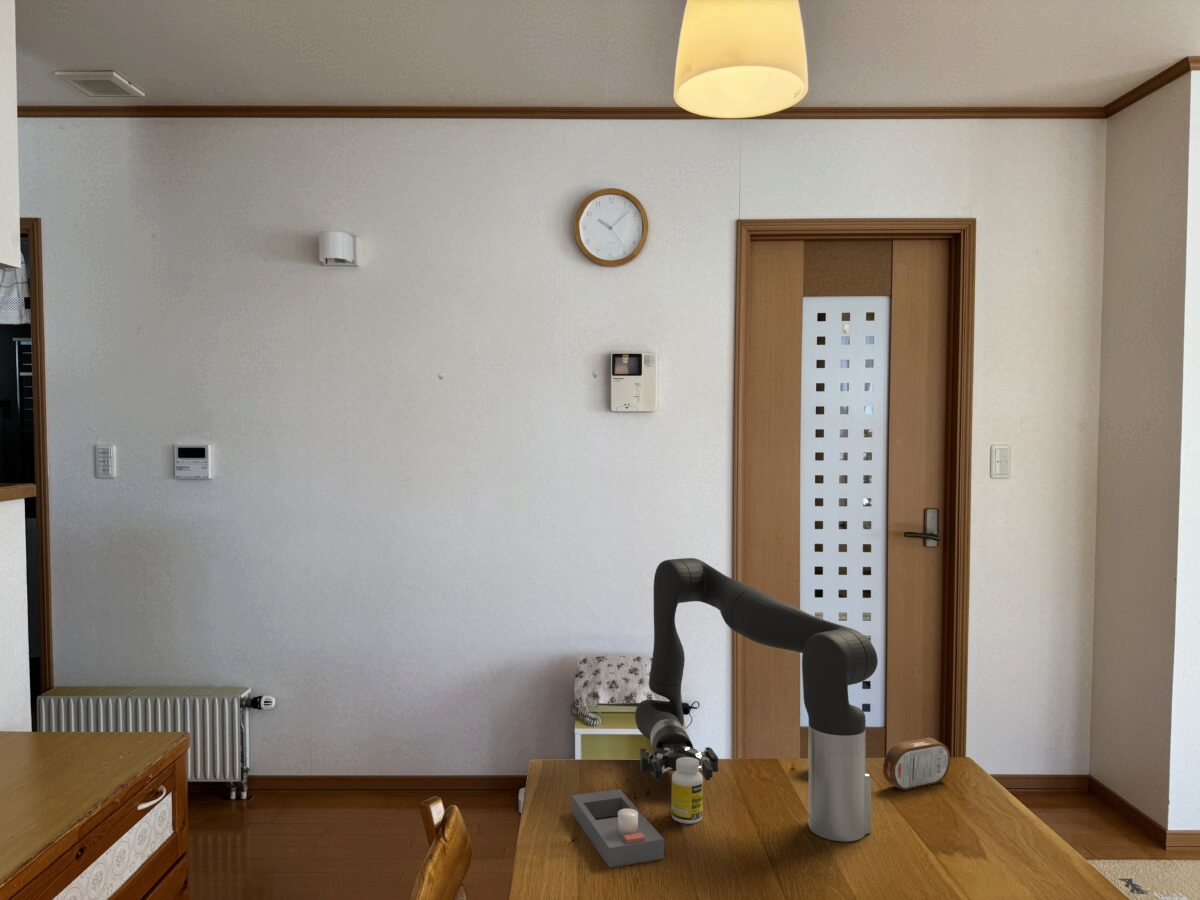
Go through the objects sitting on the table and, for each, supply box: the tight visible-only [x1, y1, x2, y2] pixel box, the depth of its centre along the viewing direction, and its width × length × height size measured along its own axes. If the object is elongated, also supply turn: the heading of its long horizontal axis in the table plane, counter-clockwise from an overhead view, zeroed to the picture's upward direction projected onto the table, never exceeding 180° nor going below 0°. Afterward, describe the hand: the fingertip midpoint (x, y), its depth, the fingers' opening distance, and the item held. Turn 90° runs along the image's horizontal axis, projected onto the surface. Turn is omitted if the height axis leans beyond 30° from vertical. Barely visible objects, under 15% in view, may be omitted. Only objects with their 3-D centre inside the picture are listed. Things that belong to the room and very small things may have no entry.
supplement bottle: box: [670, 757, 704, 825], centre depth 138 cm, size 5×5×10 cm
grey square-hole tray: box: [571, 788, 665, 869], centre depth 132 cm, size 9×20×6 cm, turn 19°
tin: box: [882, 737, 951, 791], centre depth 152 cm, size 15×3×8 cm, turn 114°
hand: (684, 775), depth 141 cm, fingers open, 8 cm apart
